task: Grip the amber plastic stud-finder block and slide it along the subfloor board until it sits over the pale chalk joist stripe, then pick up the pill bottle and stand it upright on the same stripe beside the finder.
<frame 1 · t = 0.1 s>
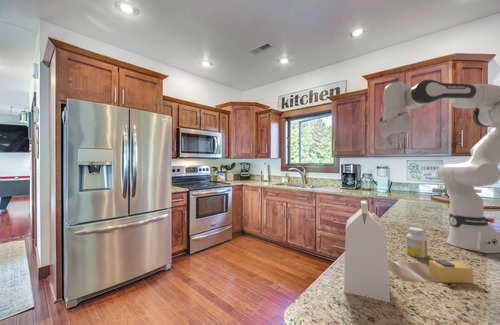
hand: (395, 144, 104), 48 cm above the countertop, fingers open, 8 cm apart
finder: (450, 278, 69), point 1 cm above the countertop, touching subfloor board
milk: (365, 287, 66), on the countertop
pill bottle: (417, 258, 87), on the countertop
subfloor board: (421, 275, 73), on the countertop
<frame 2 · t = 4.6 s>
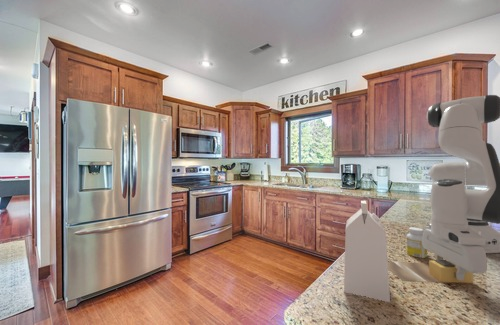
hand: (450, 274, 69), 3 cm above the countertop, fingers closed on finder, 5 cm apart
finder: (450, 278, 69), point 1 cm above the countertop, touching gripper, subfloor board
everything else where it was.
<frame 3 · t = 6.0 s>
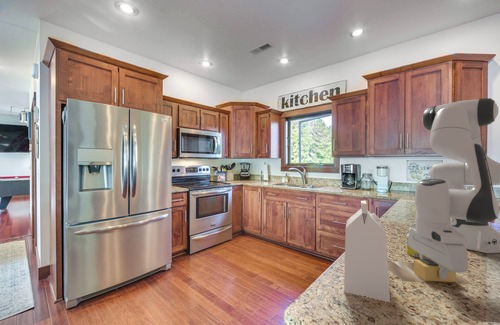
hand: (434, 273, 69), 3 cm above the countertop, fingers closed on finder, 5 cm apart
finder: (434, 277, 69), point 1 cm above the countertop, touching gripper
everything else where it was.
when the fingers open (3 cm above the countertop, at t = 7.3 s): finder stays where it is, resting on subfloor board.
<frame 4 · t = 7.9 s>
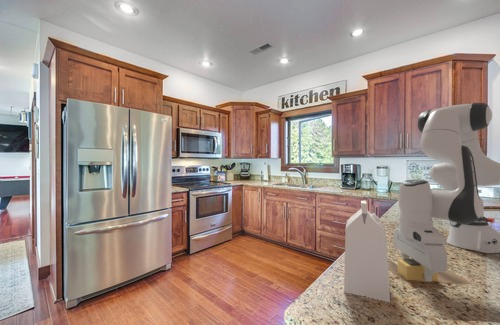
hand: (416, 272, 70), 2 cm above the countertop, fingers open, 8 cm apart
finder: (416, 276, 70), point 1 cm above the countertop, touching subfloor board
everything else where it was.
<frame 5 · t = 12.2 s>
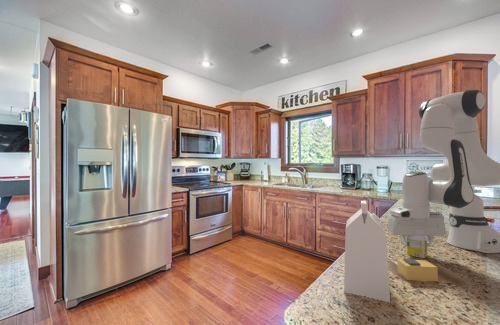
hand: (416, 246, 87), 5 cm above the countertop, fingers closed on pill bottle, 6 cm apart
pill bottle: (416, 258, 87), on the countertop, touching gripper
everything else where it was.
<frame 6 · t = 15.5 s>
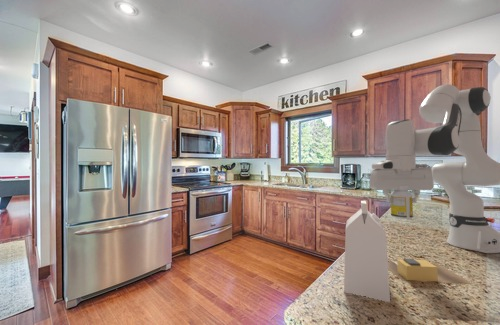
hand: (401, 202, 78), 24 cm above the countertop, fingers closed on pill bottle, 6 cm apart
pill bottle: (401, 218, 78), point 18 cm above the countertop, touching gripper
everything else where it was.
when the fingers open (7 cm above the countertop, at t = 19.0 s): pill bottle stays where it is, resting on subfloor board.
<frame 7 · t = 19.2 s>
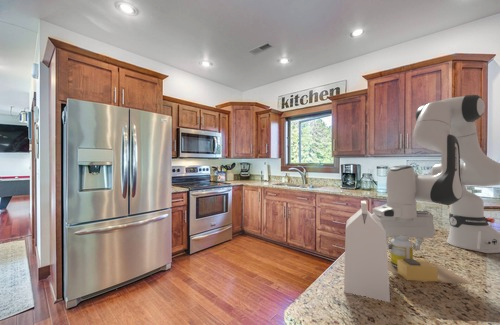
hand: (402, 249, 77), 7 cm above the countertop, fingers open, 8 cm apart
pill bottle: (401, 266, 77), point 1 cm above the countertop, touching subfloor board
everything else where it was.
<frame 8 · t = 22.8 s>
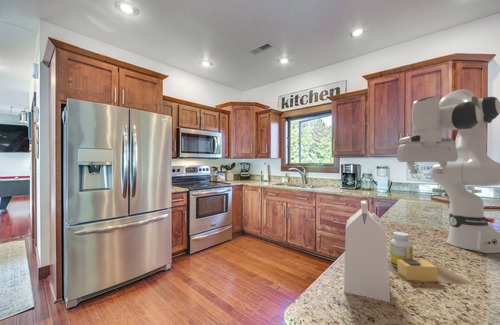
hand: (427, 173, 84), 34 cm above the countertop, fingers open, 8 cm apart
nothing on the countertop moved.
at the end: finder inside the target area on the subfloor board (4.0 cm from its centre), point 1.2 cm above the subfloor board's base; pill bottle inside the target area on the subfloor board (0.3 cm from its centre), point 1.0 cm above the subfloor board's base; pill bottle tilted 0° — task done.
